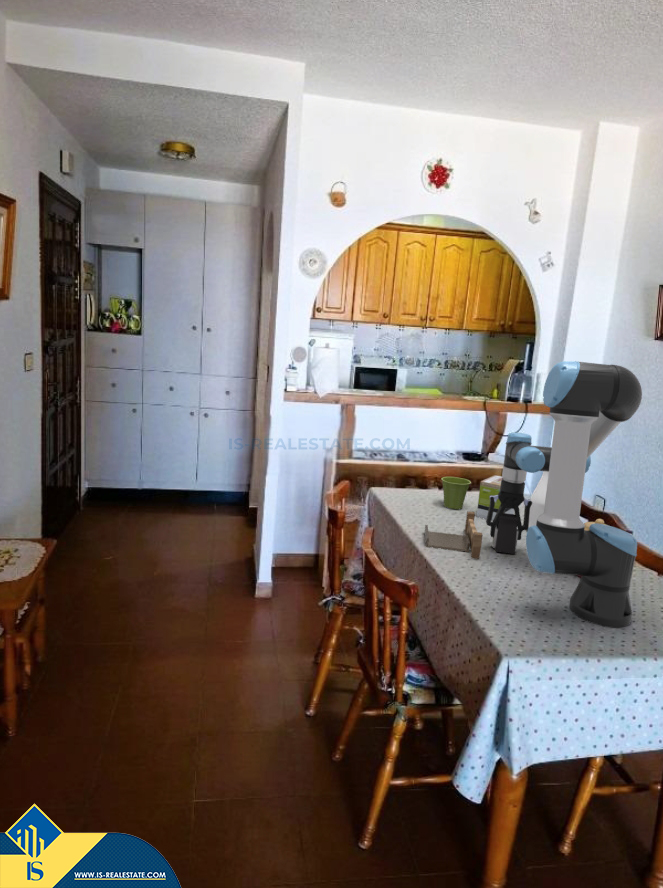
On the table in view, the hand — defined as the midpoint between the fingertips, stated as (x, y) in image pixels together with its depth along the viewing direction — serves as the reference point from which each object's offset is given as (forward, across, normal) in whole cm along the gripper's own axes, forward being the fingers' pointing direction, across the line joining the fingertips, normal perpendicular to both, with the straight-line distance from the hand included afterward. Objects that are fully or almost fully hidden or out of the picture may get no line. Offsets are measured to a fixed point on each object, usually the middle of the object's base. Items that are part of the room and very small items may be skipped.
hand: (503, 547), depth 204 cm
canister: (+1, -24, +13) cm, 28 cm away
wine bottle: (+1, -16, -24) cm, 29 cm away
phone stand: (+1, 0, 0) cm, 1 cm away
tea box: (+1, -2, -38) cm, 38 cm away
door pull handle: (+1, +10, 0) cm, 11 cm away
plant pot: (+1, +14, -44) cm, 46 cm away
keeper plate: (+1, +19, 0) cm, 19 cm away
